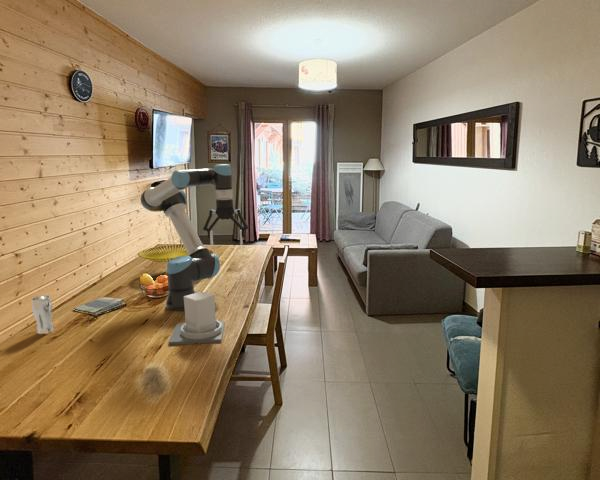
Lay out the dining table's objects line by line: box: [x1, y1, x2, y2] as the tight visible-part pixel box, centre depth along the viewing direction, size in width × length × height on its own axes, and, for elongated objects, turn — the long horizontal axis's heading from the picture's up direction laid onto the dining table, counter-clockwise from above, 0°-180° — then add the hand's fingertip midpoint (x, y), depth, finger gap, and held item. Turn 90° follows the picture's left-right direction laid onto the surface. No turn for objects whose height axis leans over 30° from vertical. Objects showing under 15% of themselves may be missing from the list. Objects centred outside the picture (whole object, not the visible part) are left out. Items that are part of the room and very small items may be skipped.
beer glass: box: [31, 294, 55, 334], centre depth 182 cm, size 7×7×15 cm
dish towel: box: [73, 296, 128, 315], centre depth 212 cm, size 19×18×3 cm
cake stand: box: [137, 243, 188, 276], centre depth 267 cm, size 40×40×15 cm
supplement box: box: [184, 291, 217, 334], centre depth 177 cm, size 9×9×15 cm
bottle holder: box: [168, 319, 226, 346], centre depth 179 cm, size 20×19×3 cm
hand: (226, 244), depth 203 cm, fingers open, 13 cm apart
